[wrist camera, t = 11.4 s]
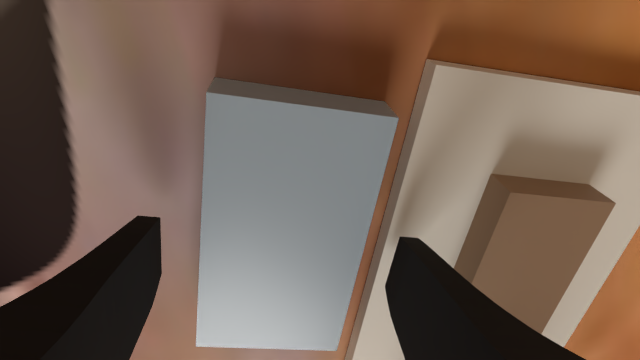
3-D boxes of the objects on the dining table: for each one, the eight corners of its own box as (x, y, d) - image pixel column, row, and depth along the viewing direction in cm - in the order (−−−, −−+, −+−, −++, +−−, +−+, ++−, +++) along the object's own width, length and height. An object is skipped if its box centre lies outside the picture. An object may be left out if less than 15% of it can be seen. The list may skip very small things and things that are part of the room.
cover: (381, 97, 12) (399, 118, 11) (329, 310, 16) (336, 350, 15) (216, 73, 12) (206, 92, 10) (204, 303, 16) (195, 346, 14)
